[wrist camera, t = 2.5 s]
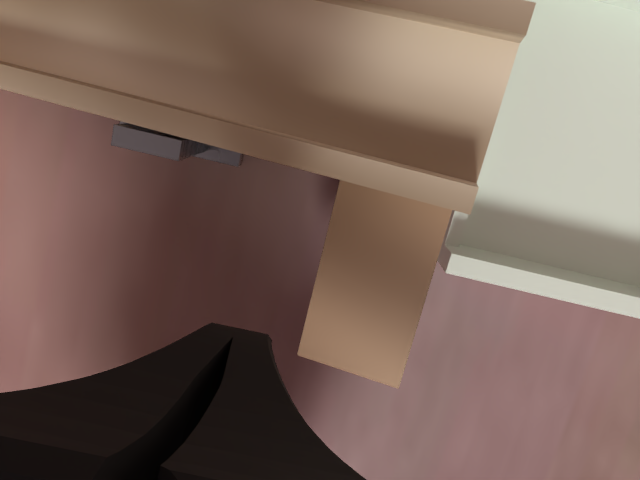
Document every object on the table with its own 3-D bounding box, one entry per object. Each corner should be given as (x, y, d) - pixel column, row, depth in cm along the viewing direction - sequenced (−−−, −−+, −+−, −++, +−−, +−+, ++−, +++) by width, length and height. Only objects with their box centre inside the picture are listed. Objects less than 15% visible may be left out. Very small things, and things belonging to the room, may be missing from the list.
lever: (413, 381, 17) (408, 414, 15) (-105, 212, 20) (-163, 220, 18) (524, 20, 14) (536, 2, 12) (-92, -104, 18) (-158, -133, 16)
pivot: (240, 165, 20) (216, 180, 16) (123, 137, 20) (69, 145, 16) (282, -44, 18) (266, -86, 14) (154, -76, 18) (101, -128, 14)
